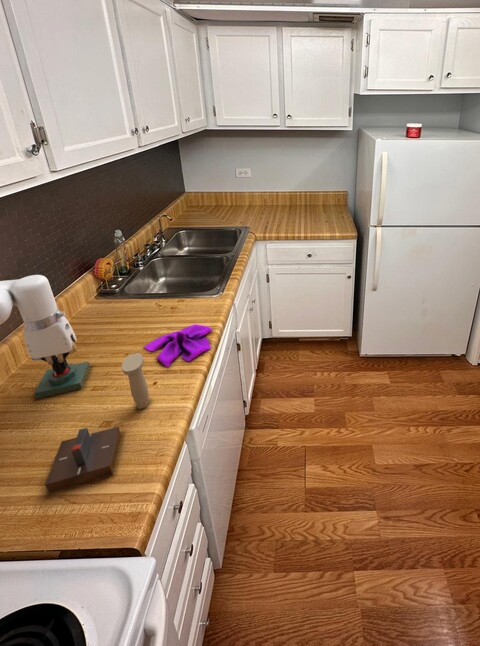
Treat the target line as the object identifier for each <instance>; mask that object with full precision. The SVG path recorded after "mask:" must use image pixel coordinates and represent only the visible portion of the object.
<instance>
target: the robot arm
mask: <svg viewBox="0 0 480 646" xmlns="http://www.w3.org/2000/svg"><path fill="white" fill-rule="evenodd" d="M51 287H52V286H51V284H50V281H49V279H48V278H47V277H46V276H44V275H43V274H32V275H27V276H24V277H22V278H19V279H8V280H0V325H2V324H4V323H5V322H6V321H7V320H8V319H9V318H10V316H11V313H12V310H13V307H15V306H16V307H17V309H18V311H19V313H20V317H21V318H22V322H23V324H24V328H23V337H24V343H25V347H26V350H27V352H28V355H29V357H30V358H31V360H32V361H44V362H46V363H47V364H48V365H49V366H51V367H52V368H51V369H53V370H54V371H55V372H56V375H59V374H64V372H65V370H66V369H67V367H68V364H67V363H68V361H67V359H66V358H67V357H68V356H70V355H73V354H74V353H77V351H78V349H79V347H78V346H77V344H76V343H77V340H78V339H77V336H76V334H75V331H74V329H73V327H72V325H71V324H70V322H69V320H68V319H67V318H66V311H61V310H60V308H59V307H58V304H57V302H56V299H55V297H54V294H53V290H52V288H51Z"/></svg>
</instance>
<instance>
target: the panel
mask: <svg viewBox="0 0 480 646" xmlns="http://www.w3.org/2000/svg"><path fill="white" fill-rule="evenodd" d="M89 434H90V437H91V440H92V442H91V446H90V449H89V452H88V456H87V459H86V462H85V464H81V465H78V466H77V464H76V462H75V459H74V457H73V454H72V449H73V447H74V444H75V441H76V438H77V437H73V438H69V439H66V440H62V441H61V442H60V444H59V447H58V450H57V452H56V455H55V457H54V460H53V463H52V465H51V467H50V471H49V473H48V476H47V478H46V481H45V483H44V486H45V488H46V490H47V492H48V494H52V493H56V492H59V491H62V490H65V489H69V488H72V487H76V486H80V485H82V484H85V483H86V484H87V483H89V482H93V481H97V480H98V479H99V480H100V479H102V478H106V477H110V476H112V475H113V474H114V470H115V466H116V461H117V456H118V452H119V447H120V442H121V438H122V433H121V429H120V426H114V427H111V428H107V429H103V430H100V431H96V432H91V433H89Z"/></svg>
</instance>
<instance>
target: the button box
mask: <svg viewBox="0 0 480 646" xmlns="http://www.w3.org/2000/svg"><path fill="white" fill-rule="evenodd" d="M67 364H68V368H69V372H68V373H66V374H65V375H63V376H61V377H54V372H55V371H54V370H53V368H49V369H46V370H45V373H44V375H43V376H42V378H41V380H40V382H39V383H38V385H37V387H36V389H35V391H34V393H33V394H34V396H35V399H36V400H38V399H42V398H47V397H51V396H56V395H60V394H66V393H69V392H74V391H79V390H82V389H83V387H84V384H85V382H86V379H87V376H88V374H89V372H90V369H91V365H90V362H89V361H84V362H79V363H71V362H67Z"/></svg>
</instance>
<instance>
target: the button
mask: <svg viewBox="0 0 480 646" xmlns="http://www.w3.org/2000/svg"><path fill="white" fill-rule="evenodd" d="M68 372H69V368H68V367H67V369H66V370H65V372H64V374H59V375H56V372H54V377H61V376H63V375H65V374H66V373H68Z"/></svg>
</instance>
